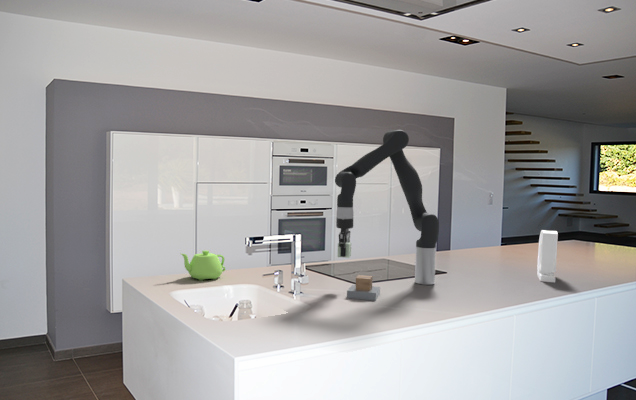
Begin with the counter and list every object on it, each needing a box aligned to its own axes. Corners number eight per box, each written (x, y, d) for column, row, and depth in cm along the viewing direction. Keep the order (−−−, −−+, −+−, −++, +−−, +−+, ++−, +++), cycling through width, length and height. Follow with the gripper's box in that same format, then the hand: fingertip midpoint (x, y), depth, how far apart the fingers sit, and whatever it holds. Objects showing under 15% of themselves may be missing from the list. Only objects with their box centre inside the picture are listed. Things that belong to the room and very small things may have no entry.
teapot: (184, 283, 235) (184, 254, 235) (175, 277, 248) (175, 249, 247) (230, 279, 247) (231, 251, 246) (219, 273, 259) (219, 247, 259)
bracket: (540, 281, 260) (543, 231, 259) (536, 273, 280) (539, 226, 279) (555, 282, 258) (558, 232, 257) (550, 274, 278) (553, 227, 277)
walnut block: (358, 286, 224) (358, 275, 224) (372, 287, 223) (372, 276, 222) (355, 289, 218) (355, 277, 218) (369, 290, 217) (370, 279, 217)
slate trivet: (352, 291, 228) (352, 284, 228) (379, 293, 225) (380, 286, 225) (346, 297, 216) (347, 290, 216) (375, 300, 213) (375, 293, 213)
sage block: (340, 255, 235) (340, 241, 235) (351, 255, 234) (351, 242, 234) (337, 257, 231) (337, 243, 230) (348, 257, 229) (348, 244, 229)
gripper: (340, 215, 239) (339, 252, 240) (332, 218, 225) (332, 257, 226) (356, 216, 237) (355, 253, 238) (350, 219, 223) (349, 258, 224)
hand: (344, 255), depth 232 cm, fingers closed on sage block, 5 cm apart
